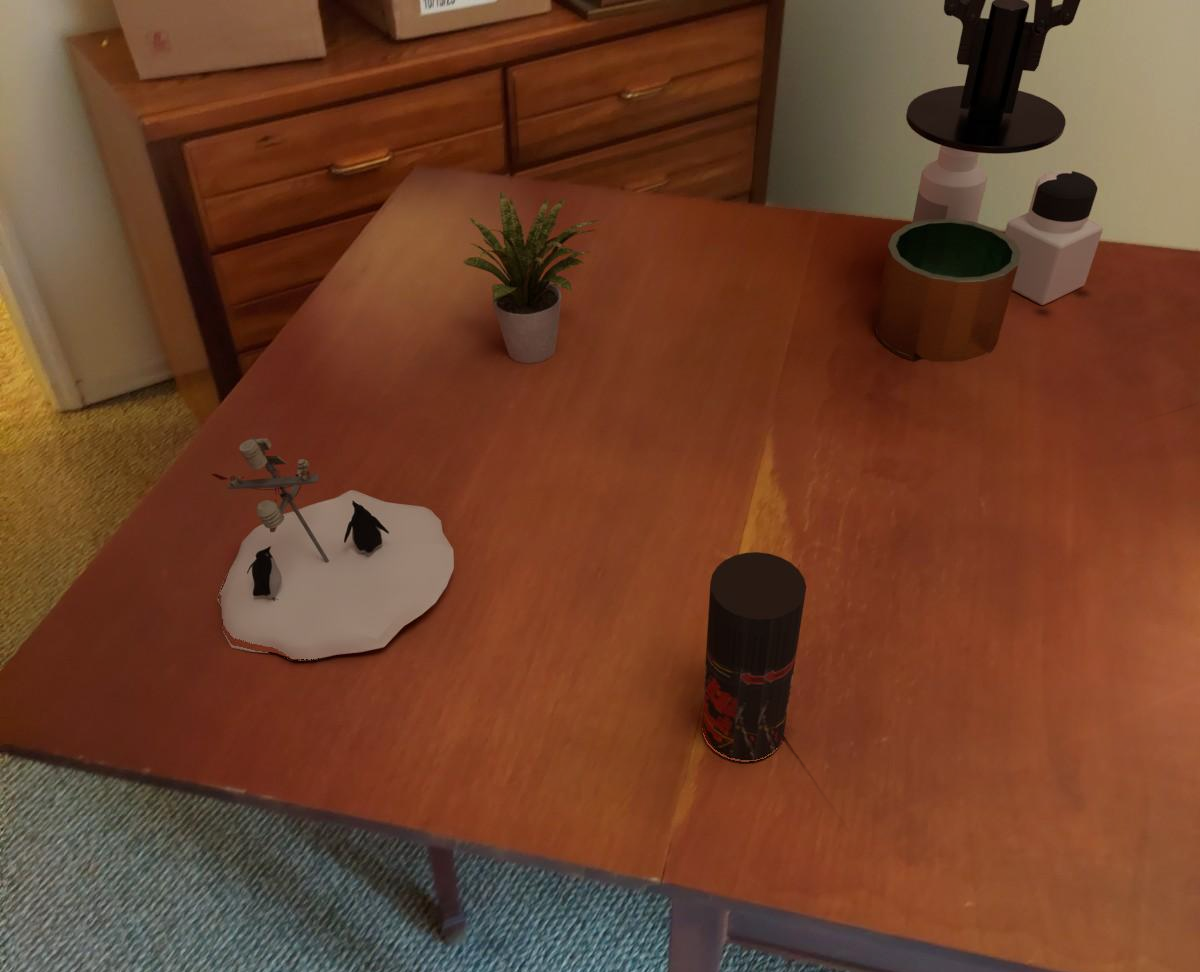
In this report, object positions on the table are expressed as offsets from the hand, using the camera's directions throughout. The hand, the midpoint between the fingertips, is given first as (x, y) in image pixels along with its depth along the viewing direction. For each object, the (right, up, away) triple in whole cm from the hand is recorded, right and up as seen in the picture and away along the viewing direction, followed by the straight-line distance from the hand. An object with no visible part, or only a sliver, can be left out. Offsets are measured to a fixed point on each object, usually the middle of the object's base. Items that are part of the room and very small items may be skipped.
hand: (987, 104), depth 94 cm
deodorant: (-24, -53, -17) cm, 61 cm away
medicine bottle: (+15, -9, +25) cm, 30 cm away
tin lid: (0, -1, +1) cm, 1 cm away
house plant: (-41, -18, +18) cm, 49 cm away
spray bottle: (+4, -6, +28) cm, 29 cm away
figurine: (-56, -42, -5) cm, 71 cm away
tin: (+1, -15, +18) cm, 24 cm away
